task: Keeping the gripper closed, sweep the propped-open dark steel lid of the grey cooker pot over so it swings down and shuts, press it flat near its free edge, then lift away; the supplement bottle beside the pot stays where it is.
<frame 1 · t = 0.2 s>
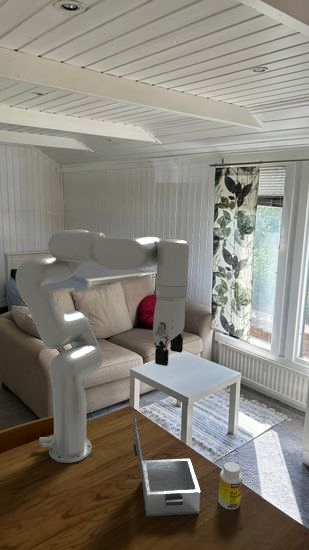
hand: (169, 357, 102), 37 cm above the table, tool pointing down, fingers open, 9 cm apart
lid: (137, 450, 103), point 13 cm above the table, hinge at 100.0°
supplement bottle: (229, 503, 105), on the table
cooker pot: (169, 496, 106), on the table
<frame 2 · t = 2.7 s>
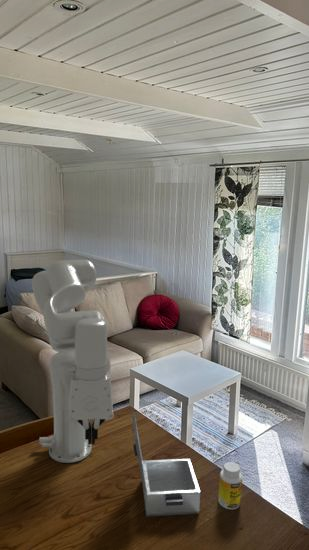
hand: (91, 441, 101), 17 cm above the table, tool pointing down, fingers closed
nothing on the table moved.
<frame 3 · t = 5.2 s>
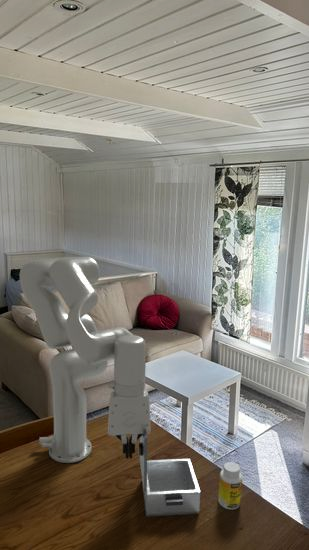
hand: (128, 455, 103), 12 cm above the table, tool pointing down, fingers closed
lid: (141, 450, 103), point 13 cm above the table, hinge at 90.7°, touching gripper
everything else where it was.
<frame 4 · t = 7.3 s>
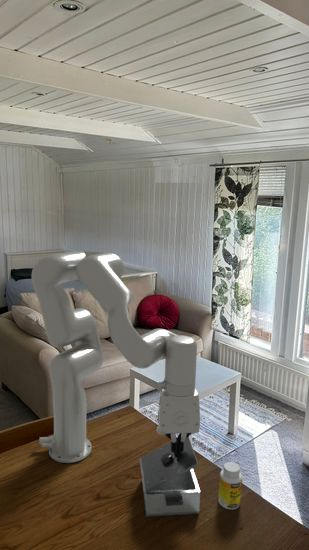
hand: (177, 453, 104), 12 cm above the table, tool pointing down, fingers closed
lid: (166, 460, 104), point 10 cm above the table, hinge at 28.7°
everything else where it was.
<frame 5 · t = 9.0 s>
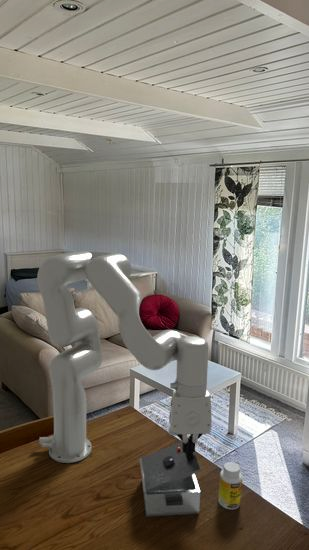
hand: (188, 454, 105), 12 cm above the table, tool pointing down, fingers closed
lid: (167, 463, 105), point 9 cm above the table, hinge at 21.5°, touching gripper
everything else where it was.
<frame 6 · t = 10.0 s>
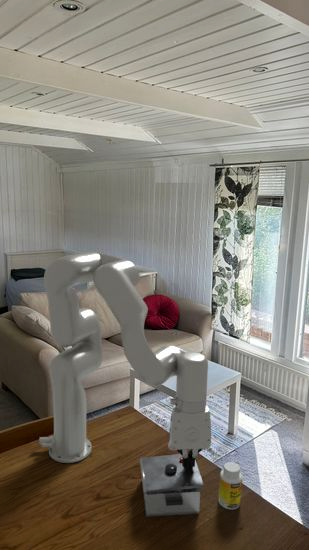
hand: (188, 468, 105), 8 cm above the table, tool pointing down, fingers closed
lid: (169, 470, 105), point 7 cm above the table, hinge at 3.4°, touching gripper
everything else where it was.
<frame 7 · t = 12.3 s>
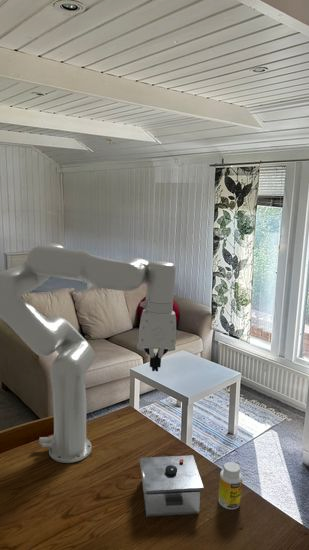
hand: (154, 369, 116), 28 cm above the table, tool pointing down, fingers closed
lid: (170, 471, 105), point 7 cm above the table, hinge at 0.2°
everything else where it was.
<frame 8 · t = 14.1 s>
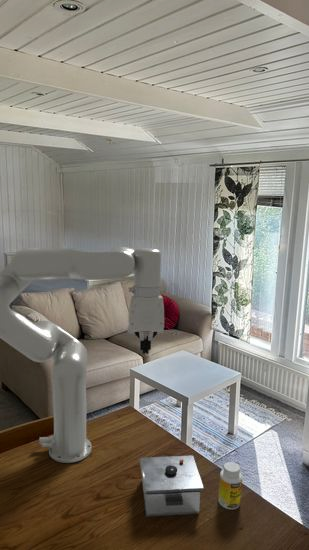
hand: (145, 352, 121), 31 cm above the table, tool pointing down, fingers closed
nothing on the table moved.
at the end: lid at +0° (first picture: +100°) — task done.
